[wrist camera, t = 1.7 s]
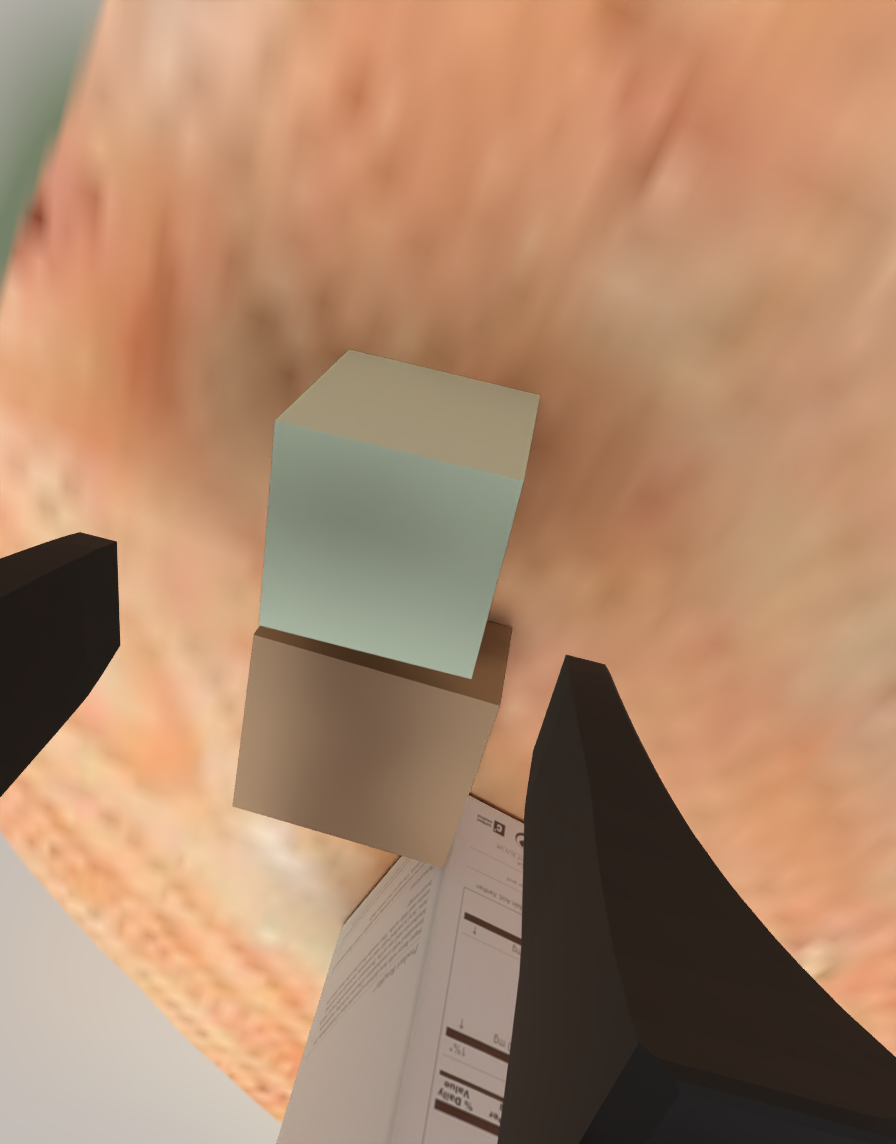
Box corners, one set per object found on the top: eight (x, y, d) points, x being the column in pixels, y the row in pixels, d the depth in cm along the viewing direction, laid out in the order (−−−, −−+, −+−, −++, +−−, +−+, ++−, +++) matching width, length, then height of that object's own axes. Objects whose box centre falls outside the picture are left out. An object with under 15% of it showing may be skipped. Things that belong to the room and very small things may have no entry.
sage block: (540, 394, 18) (523, 481, 14) (496, 560, 20) (471, 679, 16) (350, 348, 18) (274, 420, 14) (328, 518, 20) (258, 625, 16)
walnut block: (513, 623, 21) (500, 705, 18) (461, 776, 24) (443, 867, 22) (301, 562, 21) (254, 634, 18) (276, 722, 25) (232, 806, 22)
